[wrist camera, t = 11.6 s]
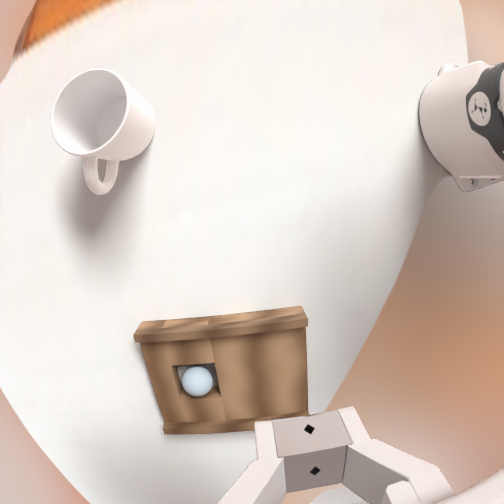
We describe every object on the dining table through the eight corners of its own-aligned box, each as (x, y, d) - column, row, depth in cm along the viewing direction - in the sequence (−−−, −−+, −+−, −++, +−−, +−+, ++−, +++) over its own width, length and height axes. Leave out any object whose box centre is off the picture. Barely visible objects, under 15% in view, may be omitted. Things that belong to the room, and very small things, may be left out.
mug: (150, 195, 35) (118, 199, 25) (87, 191, 35) (41, 196, 25) (162, 94, 33) (136, 65, 23) (99, 96, 32) (58, 72, 22)
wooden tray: (301, 305, 39) (307, 318, 35) (304, 405, 42) (310, 422, 38) (141, 321, 38) (133, 335, 34) (169, 417, 42) (164, 434, 38)
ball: (197, 357, 41) (216, 367, 38) (202, 381, 41) (221, 392, 39) (172, 369, 38) (191, 380, 35) (179, 393, 39) (197, 406, 36)
